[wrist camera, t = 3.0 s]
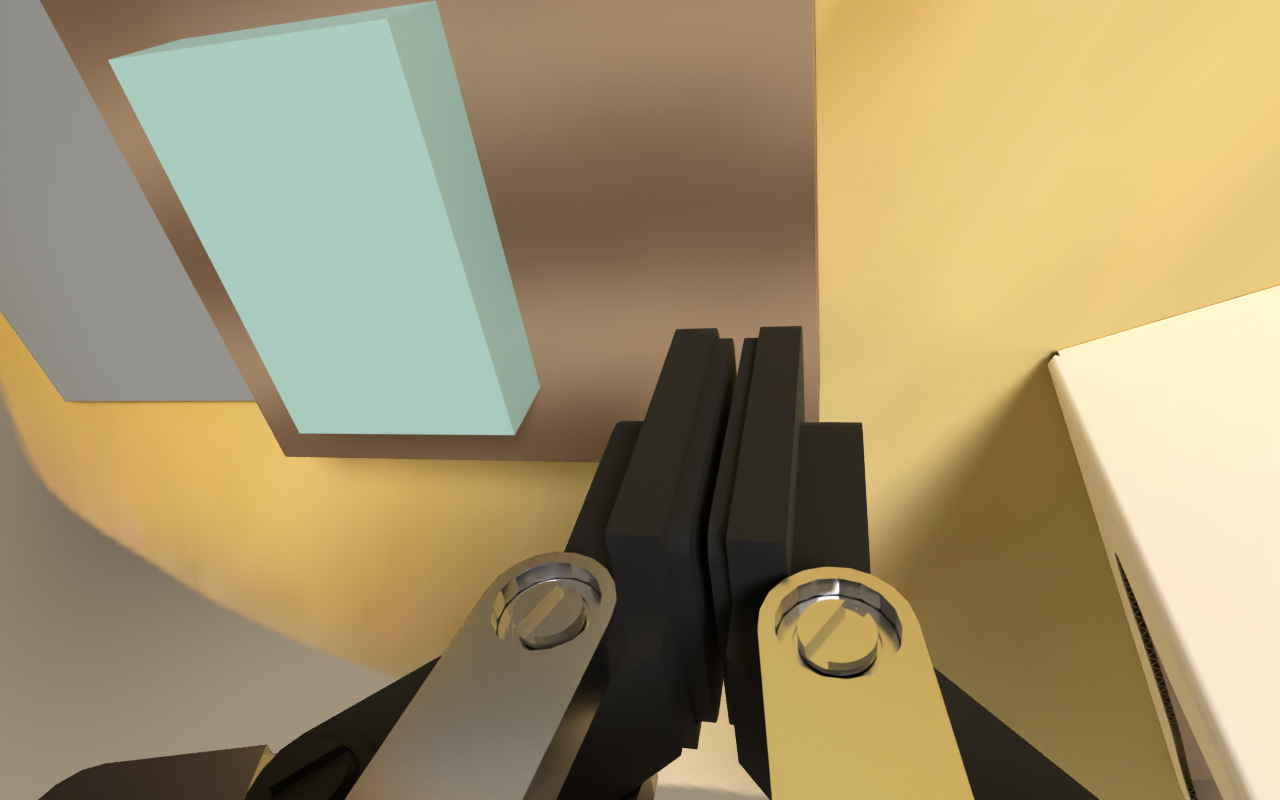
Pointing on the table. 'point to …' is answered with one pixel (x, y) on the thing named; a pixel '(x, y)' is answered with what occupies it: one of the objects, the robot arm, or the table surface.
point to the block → (345, 217)
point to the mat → (90, 243)
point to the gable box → (1193, 524)
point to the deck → (564, 189)
